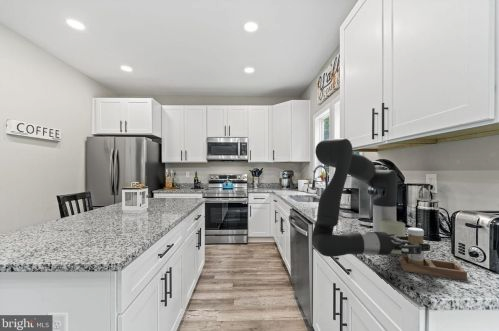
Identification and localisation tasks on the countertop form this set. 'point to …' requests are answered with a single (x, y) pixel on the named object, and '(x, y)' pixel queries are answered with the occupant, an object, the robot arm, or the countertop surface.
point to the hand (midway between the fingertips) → (419, 243)
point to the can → (393, 229)
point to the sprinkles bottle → (417, 237)
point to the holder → (435, 268)
